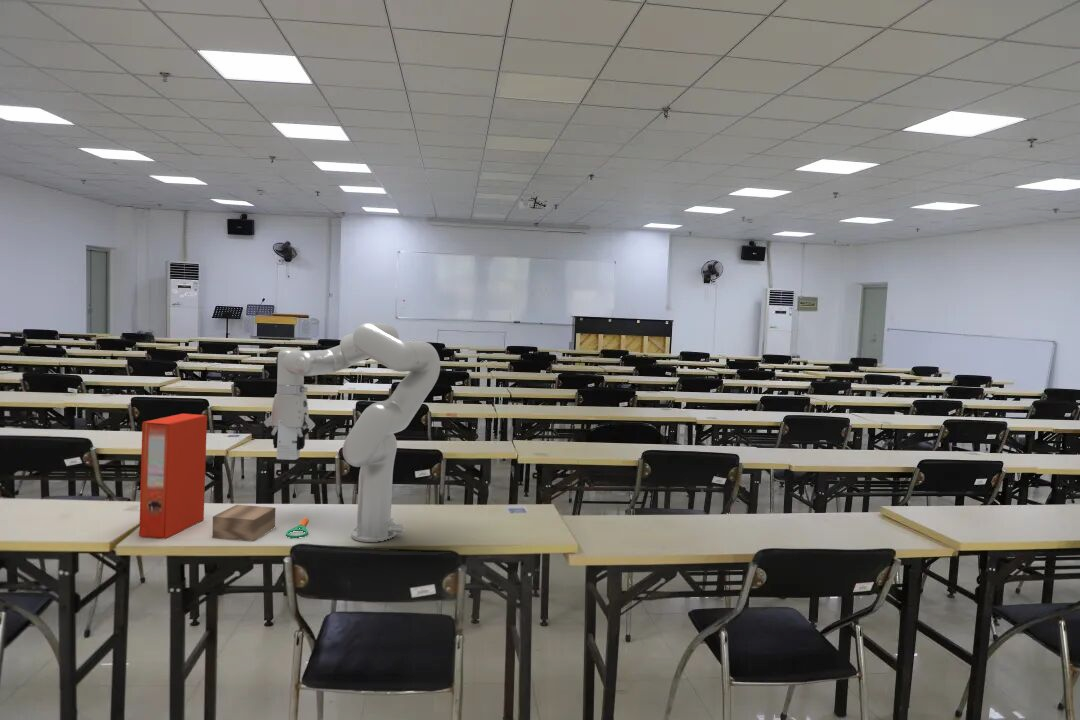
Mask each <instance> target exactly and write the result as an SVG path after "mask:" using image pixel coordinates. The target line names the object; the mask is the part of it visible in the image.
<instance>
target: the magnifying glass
mask: <svg viewBox="0 0 1080 720" xmlns="http://www.w3.org/2000/svg"><path fill="white" fill-rule="evenodd" d="M308 522H309V518H308V517H303V518H302V519H301V521H300V523H299V524H298V525H296V526H295V527H292V528H290V529H288V530H287V531H285V537H286V536H287V537H286V538H288V537H290V538H289V539H292V538H297V539H300V538H299V537H303V538H306V537H308V536H309V530H308V529H307V527H306V526H307V524H308ZM299 528H300V529H299ZM293 531H303V532H302V534H298V535H295V534H293V535H292V534H291V533H290V532H293ZM304 532H305V533H304ZM289 533H290V534H289ZM305 536H306V537H305Z"/></svg>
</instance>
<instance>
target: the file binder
mask: <svg viewBox="0 0 1080 720" xmlns="http://www.w3.org/2000/svg"><path fill="white" fill-rule="evenodd" d="M141 426H142V427H141V454H140V456H141V457H140V459H141V461H140V489H139V490H140V492H139V493H140V495H139V496H140V497H139V529H138V530H139V531H138V533H139V534H138V536H139V537H140V538H148V537H154V538H153V539H159V538H165V539H164V540H166V538H167V539H168V537H169V538H170V536H171V537H172V535H173V536H175V535H177V534H178V533H180V532H182V531H184V529H185V530H186V528H187V529H188V527H189V528H190V526H191V525H193V524H195V523H197V522H199V521H201V520H203V521H204V519H205V518H204V517H205V490H206V489H205V487H206V485H205V484H206V461H207V460H206V458H207V457H206V456H207V434H208V432H207V430H208V415H206V414H197V413H195V414H192V413H179V414H175V415H170V416H165V417H159V418H156V419H151V420H146V421H143V422H142V425H141ZM201 522H202V521H201ZM199 523H200V522H199ZM197 524H198V523H197ZM195 525H196V524H195ZM193 526H194V525H193ZM191 527H192V526H191Z"/></svg>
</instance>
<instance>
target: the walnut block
mask: <svg viewBox="0 0 1080 720" xmlns="http://www.w3.org/2000/svg"><path fill="white" fill-rule="evenodd" d="M276 511H277V510H276V507H272V506H271V507H270V506H258V505H248V504H247V505H245V504H235V505H232V506H231V507H229V508H228V509H225V510H223V511H221V512H219V513H217V514H215V515H213V516H212V534H211V536H212V539H225V540H235V539H242V540H241V541H247V540H254V541H256V540H258V539H259V538H261V537H262V536H263V535H265V533H266V534H267V533H269V532H270V531H272V530H274V529H275V528H276ZM274 527H275V528H274ZM273 528H274V529H273ZM271 529H272V530H271ZM268 531H269V532H268ZM260 536H261V537H260ZM258 537H259V538H258ZM257 538H258V539H257ZM255 539H256V540H255Z"/></svg>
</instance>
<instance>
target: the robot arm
mask: <svg viewBox="0 0 1080 720" xmlns="http://www.w3.org/2000/svg"><path fill="white" fill-rule="evenodd" d="M399 337H400V336H399V332H398V330H397V328H395V327H394V326H393V325H392V324H389V323H386V322H365V323H362V324H360V325H358V327H356V328H355V329H354V332H351V333H349V334H346V335H344V336H342V337H341V339H340V341H339V345H336V346H334V347H330V348H327V349H323V350H322V349H317V350H315V349H313V350H300V349H281V350H280V351H278V353H277V372H276V373H277V378H276V379H277V382H276V383H277V384H276V385H277V386H276V394H274V397H273V402H272V407H271V408H272V409H271V414H270V415H269V416H268V417H266V419H265V420H264V421H263V424H264V425H265V427H267V429H268V431H269V432H270V433H271V435H272V437H273V438H272V444H273V448H274V449H277V439H278V421H279V420H281V421H282V424H283V425H284V426H285V427H290V428H296V430H297V432H298V434H299V437H297V450H300V451H301V450H303V449H304V447H305V443H306V436H307V434H309V433H310V432H311V430H312V429H313V428H315V426H316V423H315V422H314V421H313V420H312V419H311V418H310V417H309V416H310V415H309V414H310V413H309V404H308V399H307V398H308V397H307V395H306V394H304V393H306V392H308V387H305V384H304V382H305V378H304V377H312V376H313V377H314V376H318V375H329V374H333V373H335V372H339V371H341V370H344V369H347V368H349V367H352V366H353V365H356V363H359V362H361V361H365V360H368V359H371V360H373V361H375V362H377V363H379V364H381V365H382V366H384V367H386V368H388V369H389V370H392V371H394V372H400V373H402V372H404V373H405V372H408V374H406V376H405V377H404V378H402V380H401V381H400V382H399V383H398V385H397V386H396V388H395V389H394V391H393V393H392V394H391V395H390V396H389V397H388V398H387V399H385V400H381V401H376V402H373V403H372V404H370V405H369V406H367V407H366V408H365V409H364V410H363V411H362V413H361V415H360V416H359V418H358V419H357V420H356V422H355V423H354V425H353V426H352V428H351V430H350V432H348V434H347V436H346V438H345V440H344V442H343V446H342V455H343V459H344V460H345V461H346V463H347V464H348V465H350V466H352V467H356V468H359V467H360V469H359V475H358V491H357V492H358V494H357V514H356V515H357V516H356V517H357V519H356V528H353V529H352V530H351V533H350V537H351V538H352V539H353V540H355V541H358V542H364V543H379V542H378V541H381V542H385V541H384V540H386V541H388V540H387V539H389V540H391V539H393V538H394V537H396V535H397V534H398V533H400V534H404V533H405V525H404V524H401V523H395V519H394V518H392V497H393V495H392V494H393V493H392V491H393V476H394V475H393V474H394V465H395V459H396V454H397V450H398V449H397V448H398V443H397V442H398V441H397V439H396V438H397V437H396V436H395V434H397V433H399V432H402V431H403V430H405V429H407V427H408V426H409V425H410V423H411V421H412V420H413V418H415V415H416V414H417V413H418V411H419V409H420V408H421V406H422V404H423V403H424V401H425V400H426V398H427V397H428V395H429V394H430V392H431V391H432V390H433V388H434V387H435V384H436V383H437V381H438V379H439V376H440V371H441V359H440V356H439V354H438V351H437V350H436V348H435V347H434V346H433V345H432V344H431V343H429V342H427V341H425V340H424V341H423V340H401V339H400V338H399ZM396 533H397V534H396ZM392 537H393V538H392ZM390 538H391V539H390Z"/></svg>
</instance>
